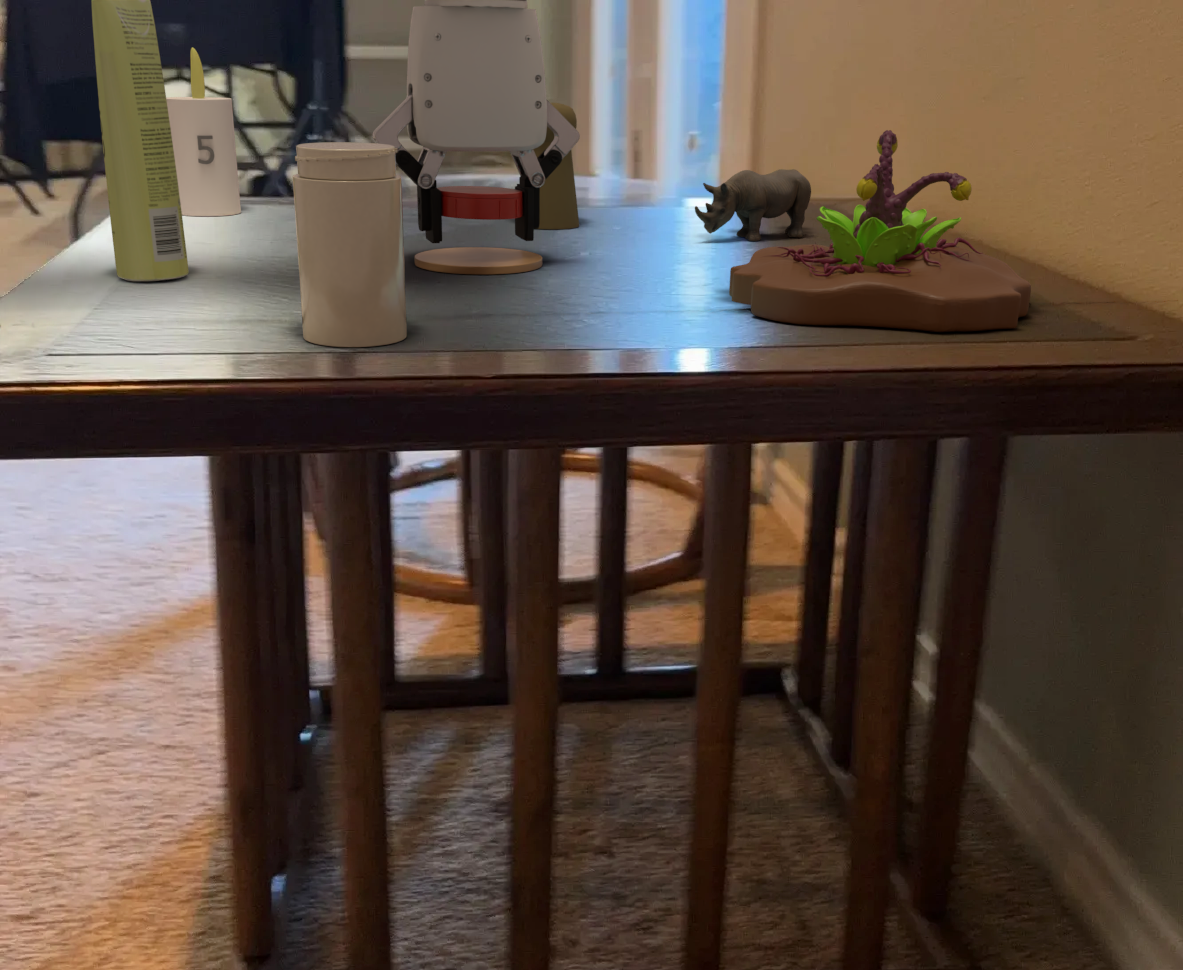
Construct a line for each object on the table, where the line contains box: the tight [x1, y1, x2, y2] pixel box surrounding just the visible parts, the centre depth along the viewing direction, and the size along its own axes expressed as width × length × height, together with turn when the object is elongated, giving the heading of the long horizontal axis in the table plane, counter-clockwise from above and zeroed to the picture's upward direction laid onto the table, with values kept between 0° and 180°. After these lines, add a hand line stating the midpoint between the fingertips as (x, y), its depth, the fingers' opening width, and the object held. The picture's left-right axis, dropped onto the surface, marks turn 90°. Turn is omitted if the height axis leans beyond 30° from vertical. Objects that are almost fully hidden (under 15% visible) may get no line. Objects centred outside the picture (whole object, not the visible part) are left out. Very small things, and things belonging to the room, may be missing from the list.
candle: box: [166, 47, 242, 217], centre depth 124 cm, size 6×6×15 cm
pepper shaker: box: [533, 102, 580, 230], centre depth 122 cm, size 6×6×11 cm
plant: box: [728, 129, 1032, 333], centre depth 87 cm, size 20×20×11 cm
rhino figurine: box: [694, 168, 812, 242], centre depth 117 cm, size 4×14×6 cm, turn 124°
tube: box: [91, 0, 190, 282], centre depth 89 cm, size 6×5×20 cm
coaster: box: [414, 246, 543, 276], centre depth 101 cm, size 10×10×1 cm
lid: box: [437, 185, 523, 221], centre depth 99 cm, size 7×7×2 cm
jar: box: [292, 141, 408, 348], centre depth 74 cm, size 6×6×11 cm
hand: (479, 237), depth 100 cm, fingers closed on lid, 6 cm apart
